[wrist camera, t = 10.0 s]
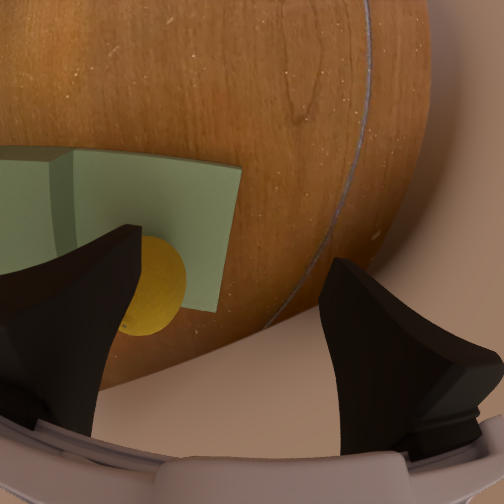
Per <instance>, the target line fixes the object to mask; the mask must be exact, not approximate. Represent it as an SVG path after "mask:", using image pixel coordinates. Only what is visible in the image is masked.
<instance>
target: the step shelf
mask: <svg viewBox="0 0 504 504" xmlns="http://www.w3.org/2000/svg"><path fill="white" fill-rule="evenodd" d="M241 173H242V167H239V166H233V165H227V164H221V163H215V162H208V161H202V160H195V159H188V158H180V157H173V156H165V155H156V154H148V153H138V152H128V151H117V150H105V149H91V148H74V147H52V146H0V275H2V274H7V273H11V272H15V271H19V270H22V269H26V268H29V267H32V266H35V265H39V264H42V263H45V262H47V261H50V260H52V259H55V258H58V257H60V256H62V255H65V254H67V253H69V252H71V251H73V250H75V249H77V248H79V247H81V246H83V245H85V244H87V243H89V242H91V241H93V240H95V239H97V238H99V237H101V236H102V235H104V234H106V233H108V232H110V231H112V230H114V229H116V228H118V227H120V226H122V225H124V224H132V225H139V226H142V236H144V235H145V236H155V237H157V238H160V239H163V240H165V241H166V242H168V243H169V244H171V245H172V246H173V247H174V248H175V249H176V250H177V252H178V253H179V255H180V256H181V258H182V260H183V263H184V266H185V269H186V281H187V285H186V291H185V295H184V299H183V302H182V304H181V306H180V307H185V308H191V309H197V310H203V311H210V312H216V310H217V304H218V298H219V292H220V287H221V281H222V275H223V269H224V264H225V258H226V252H227V247H228V241H229V236H230V230H231V225H232V220H233V214H234V209H235V204H236V198H237V193H238V188H239V183H240V178H241Z"/></svg>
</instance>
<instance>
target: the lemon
mask: <svg viewBox="0 0 504 504" xmlns="http://www.w3.org/2000/svg"><path fill="white" fill-rule="evenodd" d="M186 285H187V281H186V269H185V266H184V263H183V260H182V258H181V256H180V255H179V253H178V252H177V250H176V249H175V248H174V247H173V246H172V245H171V244H169V243H168V242H166V241H165V240H163V239H160V238H157V237H155V236H145V235H144V236H142V273H141V276H140V279H139V282H138V285H137V288H136V291H135V294H134V296H133V299H132V301H131V303H130V305H129V307H128V309H127V311H126V313H125V316H124V318H123V320H122V322H121V324H120V326H119V328H118V330H120V331H122V332H124V333H126V334H130V335H137V336H143V335H150V334H153V333H155V332H158V331H160V330H161V329H163V328H164V327H165V326H166V325H168V324H169V323H170V322H171V320H172V319H173V318H174V316H175V315H176V313H177V311H178V310H179V308H180V306H181V304H182V302H183V299H184V295H185V291H186Z"/></svg>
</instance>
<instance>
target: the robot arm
mask: <svg viewBox="0 0 504 504" xmlns="http://www.w3.org/2000/svg"><path fill="white" fill-rule="evenodd" d="M141 273H142V226H139V225H132V224H124V225H122V226H120V227H118V228H116V229H114V230H112V231H110V232H108V233H106V234H104V235H102V236H101V237H99V238H97V239H95V240H93V241H91V242H89V243H87V244H85V245H83V246H81V247H79V248H77V249H75V250H73V251H71V252H69V253H67V254H65V255H62V256H60V257H58V258H55V259H52V260H50V261H47V262H45V263H42V264H39V265H35V266H32V267H29V268H26V269H22V270H19V271H15V272H11V273H7V274H2V275H0V488H2V489H4V490H5V491H7V492H9V493H10V494H12V495H14V496H16V497H18V498H20V499H21V500H23V501H25V502H27V503H29V504H469V502H470V501H471V500H472V498H473V496H475V495H477V494H478V493H480V492H482V491H484V490H485V489H487V488H489V487H490V486H492V485H493V484H495V483H497V482H498V481H500V480H501V479H503V478H504V419H503V417H502V415H497V416H494V417H492V418H489V419H486V420H484V421H482V422H481V423H480V424H478V422H477V420H476V417H478V416H479V415H480V411H479V409H478V407H477V406H478V405H479V404H480V403H481V402H482V401H483V400H484V399H485V398H486V397H487V396H488V395H489V394H490V392H492V390H494V388H495V387H496V386H497V385H498V384H499V382H500V381H501V379H502V377H503V375H504V363H503V361H502V360H501V358H500V356H499V355H498V354H497V353H496V352H494V351H492V350H489V349H486V348H483V347H481V346H478V345H475V344H473V343H470V342H468V341H466V340H464V339H462V338H459V337H457V336H455V335H453V334H451V333H449V332H447V331H445V330H444V329H442V328H440V327H438V326H437V325H435V324H433V323H432V322H430V321H429V320H427V319H425V318H424V317H422V316H421V315H419V314H418V313H416V312H415V311H414V310H412V309H411V308H409V307H408V306H407V305H405V304H404V303H403V302H401V301H400V300H399V299H398V298H396V297H395V296H394V295H393V294H391V293H390V292H389V291H388V290H387V289H385V288H384V287H383V286H382V285H381V284H379V283H378V282H377V281H376V280H375V279H374V278H372V277H371V276H370V275H369V274H368V273H366V272H365V271H364V270H363V269H362V268H360V267H359V266H358V265H356V264H355V263H354V262H352V261H351V260H349V259H343V258H337V257H334V260H333V263H332V265H331V268H330V271H329V273H328V276H327V278H326V281H325V283H324V286H323V289H322V291H321V294H320V296H319V298H318V302H319V311H320V317H321V323H322V327H323V330H324V334H325V338H326V342H327V345H328V349H329V352H330V356H331V360H332V363H333V367H334V372H335V376H336V383H337V391H338V400H339V412H340V431H341V433H340V434H341V451H340V452H341V453H340V456H332V457H317V458H296V459H295V458H290V459H268V458H267V459H266V458H265V459H264V458H241V457H209V456H191V457H184V458H178V457H171V456H166V455H160V454H154V453H150V452H145V451H140V450H136V449H131V448H127V447H123V446H119V445H115V444H112V443H108V442H104V441H101V440H97V439H94V438H91V432H92V425H93V418H94V412H95V407H96V401H97V396H98V391H99V387H100V383H101V379H102V375H103V371H104V367H105V364H106V360H107V357H108V353H109V350H110V347H111V345H112V342H113V339H114V337H115V335H116V333H117V331H118V328H119V326H120V324H121V322H122V320H123V318H124V316H125V313H126V311H127V309H128V307H129V305H130V303H131V301H132V299H133V296H134V294H135V291H136V288H137V285H138V282H139V279H140V276H141Z"/></svg>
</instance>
